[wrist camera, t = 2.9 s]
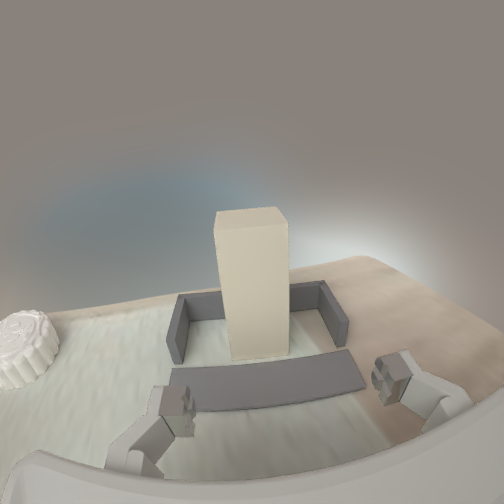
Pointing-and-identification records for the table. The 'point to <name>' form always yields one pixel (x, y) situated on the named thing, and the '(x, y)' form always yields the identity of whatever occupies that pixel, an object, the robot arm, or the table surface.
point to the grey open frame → (268, 373)
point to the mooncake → (26, 347)
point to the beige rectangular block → (254, 280)
